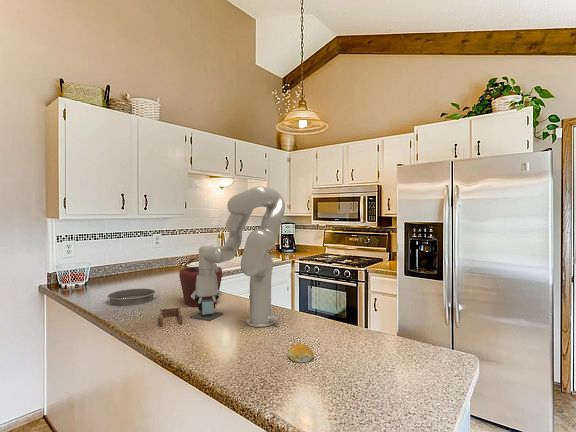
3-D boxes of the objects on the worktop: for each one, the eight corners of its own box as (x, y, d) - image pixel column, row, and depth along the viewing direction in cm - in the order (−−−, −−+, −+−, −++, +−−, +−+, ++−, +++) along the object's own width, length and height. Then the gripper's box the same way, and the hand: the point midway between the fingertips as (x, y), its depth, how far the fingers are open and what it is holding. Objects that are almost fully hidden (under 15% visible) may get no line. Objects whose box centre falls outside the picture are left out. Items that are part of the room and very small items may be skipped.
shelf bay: (182, 324, 144) (182, 316, 144) (160, 327, 141) (160, 318, 141) (179, 314, 158) (179, 307, 158) (159, 317, 154) (159, 309, 154)
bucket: (173, 302, 182) (173, 257, 182) (209, 295, 196) (209, 253, 196) (193, 311, 163) (193, 261, 163) (231, 303, 178) (231, 257, 178)
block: (213, 313, 152) (213, 302, 152) (202, 314, 151) (202, 303, 151) (211, 309, 159) (211, 299, 159) (200, 310, 157) (200, 300, 157)
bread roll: (307, 351, 116) (307, 339, 116) (316, 362, 107) (316, 349, 107) (285, 353, 114) (285, 341, 114) (291, 364, 105) (291, 352, 105)
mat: (223, 314, 159) (223, 312, 159) (209, 321, 148) (209, 319, 148) (204, 311, 163) (204, 310, 163) (189, 318, 153) (189, 316, 153)
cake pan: (108, 298, 191) (108, 290, 191) (154, 294, 201) (154, 286, 201) (105, 309, 169) (105, 300, 169) (156, 303, 179) (156, 295, 179)
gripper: (223, 269, 162) (223, 306, 162) (187, 272, 156) (187, 310, 156) (226, 272, 155) (226, 310, 155) (189, 274, 149) (188, 314, 149)
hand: (206, 310), depth 156 cm, fingers closed on block, 5 cm apart
